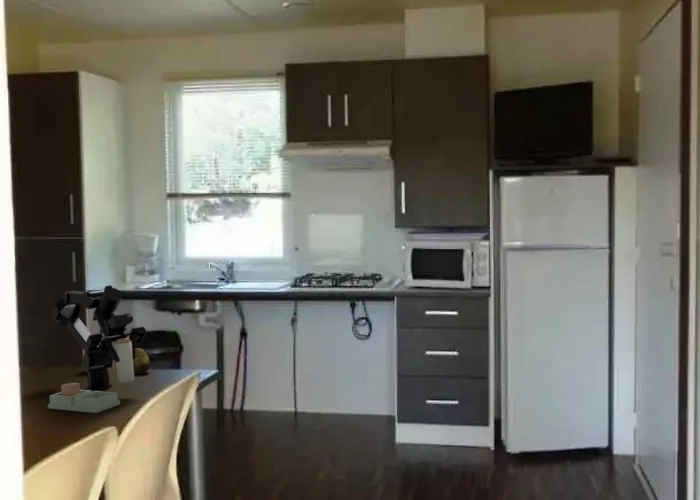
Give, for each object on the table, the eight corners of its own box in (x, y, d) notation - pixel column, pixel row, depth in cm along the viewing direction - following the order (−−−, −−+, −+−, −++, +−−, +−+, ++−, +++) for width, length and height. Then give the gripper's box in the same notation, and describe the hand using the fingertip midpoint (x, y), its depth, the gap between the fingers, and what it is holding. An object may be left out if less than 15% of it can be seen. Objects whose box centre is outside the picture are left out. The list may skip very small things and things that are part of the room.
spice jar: (114, 382, 252) (111, 340, 251) (125, 378, 256) (122, 337, 255) (126, 382, 250) (123, 340, 249) (137, 379, 254) (134, 337, 253)
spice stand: (48, 408, 243) (46, 387, 243) (73, 400, 252) (71, 380, 252) (95, 412, 235) (94, 391, 234) (120, 404, 243) (118, 383, 243)
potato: (125, 376, 284) (123, 353, 283) (128, 369, 296) (126, 347, 296) (149, 374, 285) (148, 351, 285) (151, 367, 298) (150, 345, 298)
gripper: (86, 309, 248) (105, 348, 241) (141, 301, 261) (161, 338, 253) (77, 332, 254) (95, 371, 247) (131, 324, 267) (150, 361, 259)
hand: (126, 360), depth 251 cm, fingers closed on spice jar, 5 cm apart
